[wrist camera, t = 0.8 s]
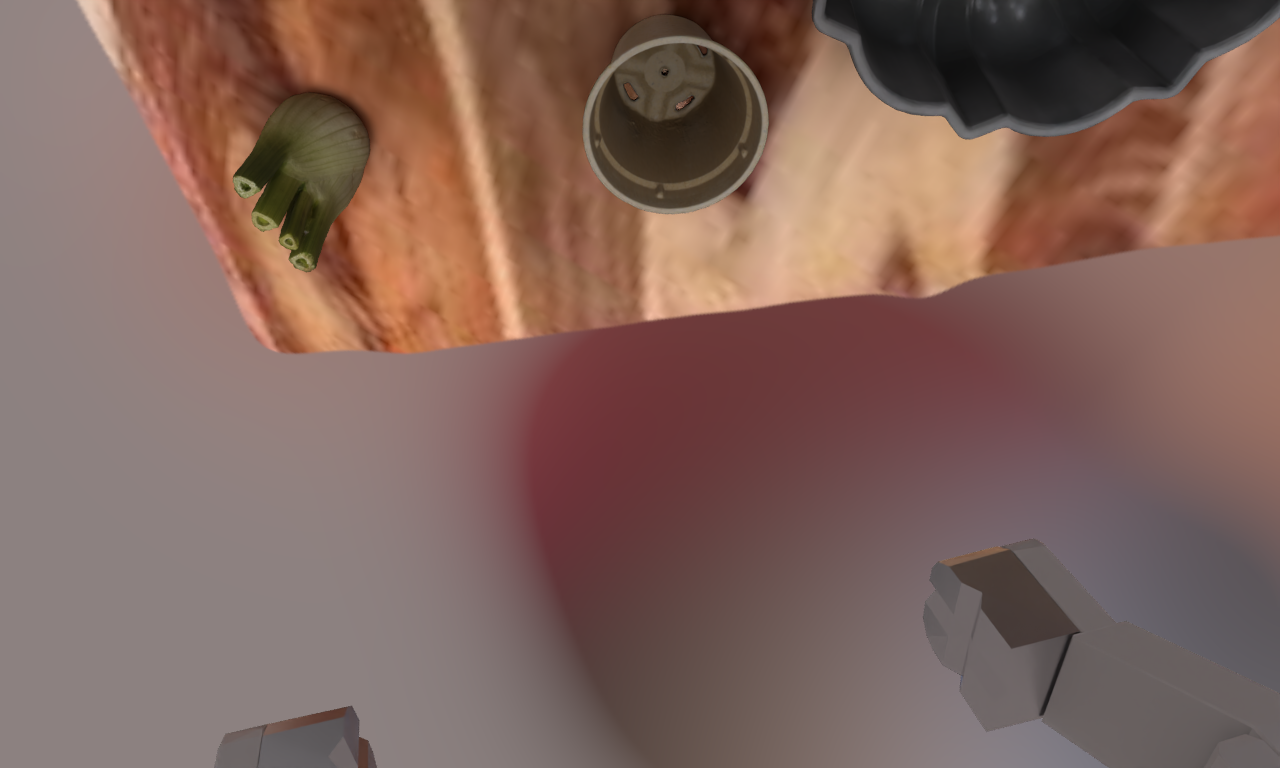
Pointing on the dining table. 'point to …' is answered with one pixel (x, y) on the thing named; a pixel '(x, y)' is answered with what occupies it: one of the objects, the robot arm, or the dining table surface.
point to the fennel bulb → (305, 171)
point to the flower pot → (674, 119)
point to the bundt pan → (1034, 55)
